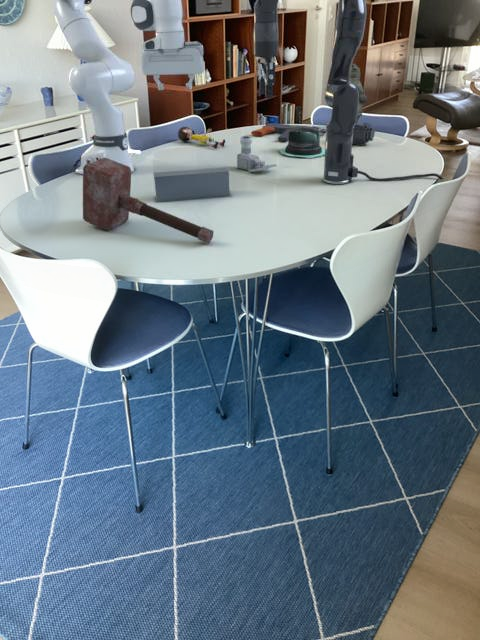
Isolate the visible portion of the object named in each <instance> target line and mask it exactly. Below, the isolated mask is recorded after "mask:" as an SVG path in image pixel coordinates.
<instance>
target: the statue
mask: <svg viewBox="0 0 480 640" xmlns="http://www.w3.org/2000/svg"><path fill="white" fill-rule="evenodd" d="M349 82H350V83H353V84H354V85H355V86H356V87H357V89H358V92H359V104H358V112H357V120H356V123H355V124H357V125H359V124H358V123H359V121H360V118H361V117H362V116H363V108H364V104H365V103H367V102H368V96H367V95H366V94H365V91H364V86H363V84H362V82H361V68H360V67H359V66H358V65H357V64H356V63H352V65H351V71H350V80H349Z"/></svg>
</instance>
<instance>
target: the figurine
mask: <svg viewBox="0 0 480 640" xmlns="http://www.w3.org/2000/svg"><path fill="white" fill-rule="evenodd" d="M210 132H212V128H209V129H207V130H206V132H205V133H204V134H202V135H201V134H198V133H195V130H193V129H191V128H189V127H188V126H182V127H180V128H179V129H178V132H177V137H178V139H179V141H182V142H191V141H192V140H194V141H198V142H200V143H201V144H203V145H204V146H210V147H212V148H214V149H215V150H216V149H218V145H219V146H221V147H225V144H226V139H222V141H218V140H216V139H215V138H213V137H212V136H207V135H208V134H209V133H210Z"/></svg>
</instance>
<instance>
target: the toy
mask: <svg viewBox="0 0 480 640" xmlns="http://www.w3.org/2000/svg"><path fill="white" fill-rule="evenodd" d="M357 124H358V123H357ZM357 124H355V125H354V129H353V140H352V145H358V146H359V145H360V146H366V144H367V143H369V142H373V140H374V138H375V133H376V129H375V127H374V126H372V123H370V122H363V124H358V125H357Z"/></svg>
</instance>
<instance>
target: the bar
mask: <svg viewBox="0 0 480 640" xmlns="http://www.w3.org/2000/svg"><path fill="white" fill-rule="evenodd" d="M153 181H154V182H153V183H154V191H155V192H154V193H155V199H156V202H157V203H161V202H174V201H186V200H187V201H188V200H198V199H210V198H225V197H230V195H231V194H230V193H231V192H230V171H229V170H228V167H226V166H221V167H210V168H196V169H195V168H194V169H182V170H166V171H155V172H153Z"/></svg>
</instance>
